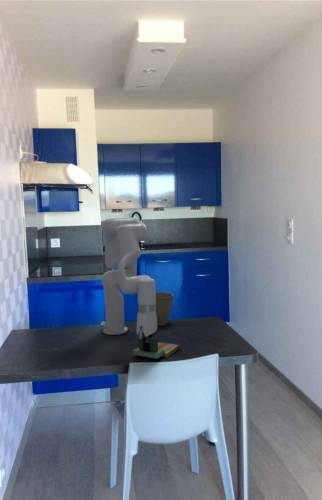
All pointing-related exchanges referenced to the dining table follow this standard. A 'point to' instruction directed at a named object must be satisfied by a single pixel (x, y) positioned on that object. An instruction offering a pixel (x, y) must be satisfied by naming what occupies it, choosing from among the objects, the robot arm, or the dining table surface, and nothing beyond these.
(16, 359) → the dining table surface
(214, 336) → the dining table surface
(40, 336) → the dining table surface
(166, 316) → the plant pot
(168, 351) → the notched brown wooden block
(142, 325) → the robot arm
